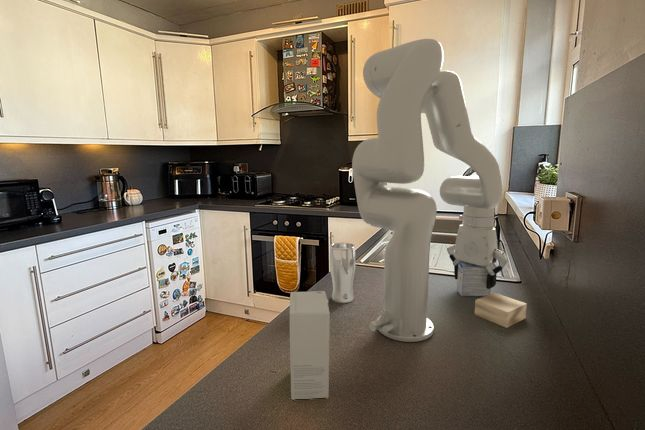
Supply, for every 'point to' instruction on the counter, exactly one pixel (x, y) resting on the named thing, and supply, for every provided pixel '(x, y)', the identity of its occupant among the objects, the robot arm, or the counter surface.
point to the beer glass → (342, 271)
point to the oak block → (500, 309)
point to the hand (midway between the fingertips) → (473, 282)
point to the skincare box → (309, 344)
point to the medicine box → (472, 280)
